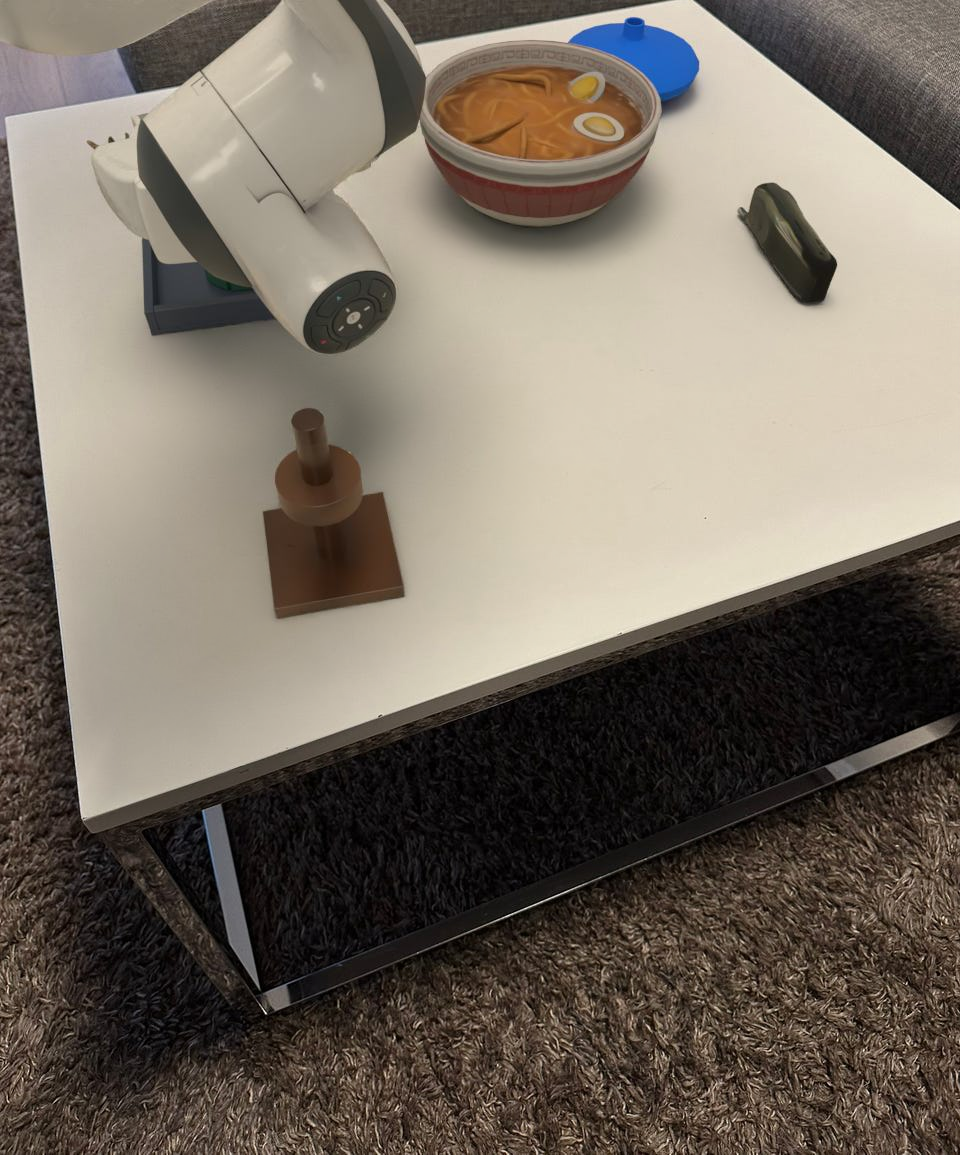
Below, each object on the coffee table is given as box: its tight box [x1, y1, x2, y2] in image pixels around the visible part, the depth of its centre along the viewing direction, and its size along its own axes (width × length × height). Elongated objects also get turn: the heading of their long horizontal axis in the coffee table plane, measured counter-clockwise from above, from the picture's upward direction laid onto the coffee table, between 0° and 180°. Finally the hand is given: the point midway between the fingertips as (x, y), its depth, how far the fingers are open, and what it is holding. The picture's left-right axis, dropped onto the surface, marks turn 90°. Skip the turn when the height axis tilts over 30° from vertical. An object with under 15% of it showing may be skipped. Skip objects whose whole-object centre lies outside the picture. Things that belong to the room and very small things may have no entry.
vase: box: [567, 16, 700, 102], centre depth 108 cm, size 16×16×7 cm
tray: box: [141, 238, 277, 336], centre depth 88 cm, size 17×15×2 cm
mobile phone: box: [737, 182, 838, 304], centre depth 90 cm, size 5×3×15 cm
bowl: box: [419, 39, 663, 228], centre depth 93 cm, size 23×23×10 cm
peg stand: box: [262, 407, 405, 619], centre depth 64 cm, size 9×9×14 cm
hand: (199, 109), depth 77 cm, fingers open, 8 cm apart
